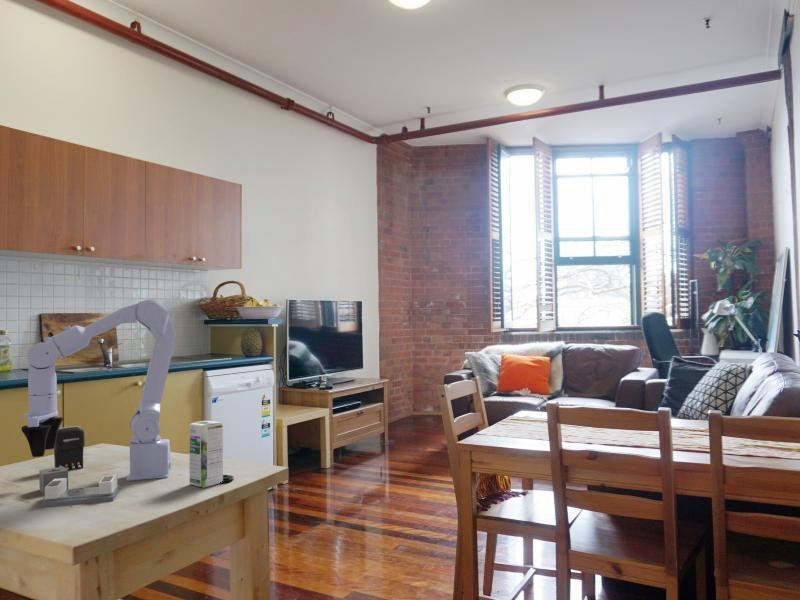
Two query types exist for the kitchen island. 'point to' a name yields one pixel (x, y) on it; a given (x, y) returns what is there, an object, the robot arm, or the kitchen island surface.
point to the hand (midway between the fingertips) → (43, 452)
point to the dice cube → (51, 476)
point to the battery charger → (69, 448)
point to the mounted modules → (60, 486)
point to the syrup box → (205, 453)
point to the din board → (81, 497)
